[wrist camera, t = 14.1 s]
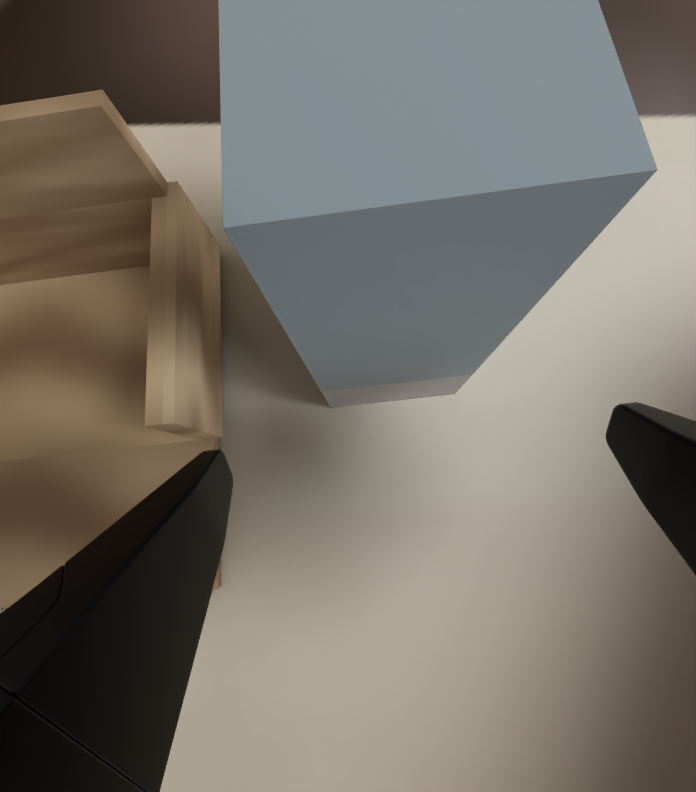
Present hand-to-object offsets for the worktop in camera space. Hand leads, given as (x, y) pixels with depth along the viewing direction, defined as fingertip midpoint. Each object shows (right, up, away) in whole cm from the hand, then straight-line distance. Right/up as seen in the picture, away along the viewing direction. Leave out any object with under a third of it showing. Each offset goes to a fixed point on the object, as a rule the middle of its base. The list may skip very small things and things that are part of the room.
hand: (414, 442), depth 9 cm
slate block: (0, +4, +8) cm, 9 cm away
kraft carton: (-14, 0, +9) cm, 17 cm away
